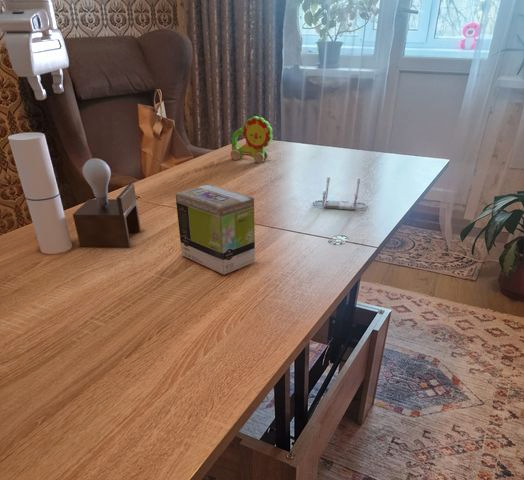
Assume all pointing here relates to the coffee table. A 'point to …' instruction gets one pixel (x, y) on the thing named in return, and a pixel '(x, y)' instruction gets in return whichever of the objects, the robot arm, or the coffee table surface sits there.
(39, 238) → the cylindrical container
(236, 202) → the tea box
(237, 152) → the toy lion
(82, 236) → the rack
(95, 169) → the lightbulb
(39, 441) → the coffee table surface
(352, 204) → the wall mount rack
